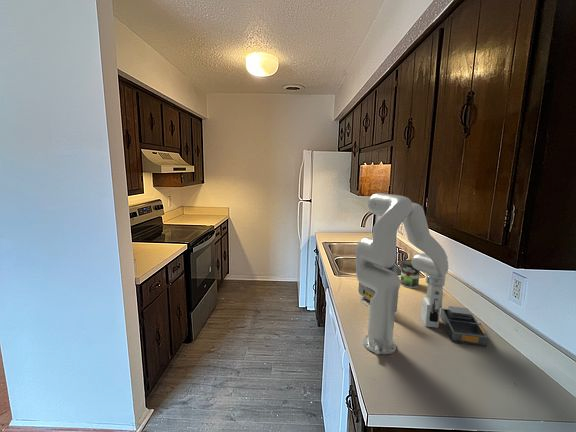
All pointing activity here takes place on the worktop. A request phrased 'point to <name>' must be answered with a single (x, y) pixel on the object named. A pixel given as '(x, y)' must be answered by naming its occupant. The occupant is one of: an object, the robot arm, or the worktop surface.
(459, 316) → the module
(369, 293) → the network device
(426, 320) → the small box
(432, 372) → the worktop surface
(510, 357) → the worktop surface
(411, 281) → the coffee can
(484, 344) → the rack
